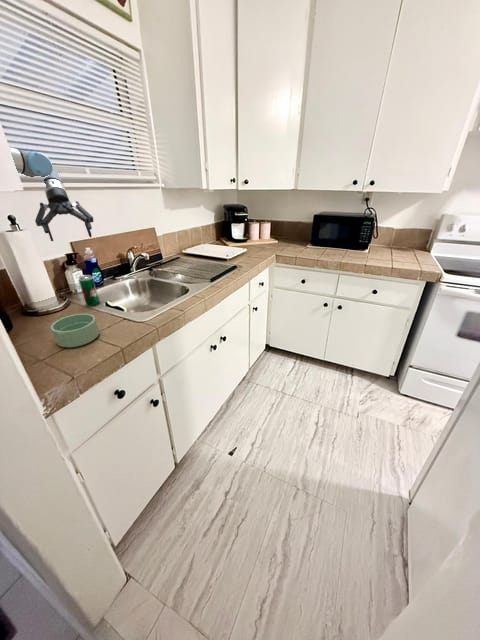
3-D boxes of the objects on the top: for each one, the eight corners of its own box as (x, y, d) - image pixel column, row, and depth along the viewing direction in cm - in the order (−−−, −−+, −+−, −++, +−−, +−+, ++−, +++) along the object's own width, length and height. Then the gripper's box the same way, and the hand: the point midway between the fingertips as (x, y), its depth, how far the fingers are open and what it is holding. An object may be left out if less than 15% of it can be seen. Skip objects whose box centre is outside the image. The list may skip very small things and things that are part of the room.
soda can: (96, 306, 107) (87, 278, 101) (83, 306, 107) (75, 278, 101) (102, 301, 111) (94, 274, 106) (90, 301, 111) (82, 274, 106)
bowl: (47, 347, 80) (40, 330, 78) (74, 328, 91) (69, 312, 88) (84, 350, 79) (78, 333, 76) (107, 330, 90) (102, 314, 87)
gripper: (16, 188, 99) (31, 234, 95) (89, 187, 112) (104, 228, 108) (22, 202, 105) (36, 246, 101) (90, 200, 118) (105, 239, 114)
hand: (71, 237), depth 105 cm, fingers open, 13 cm apart
